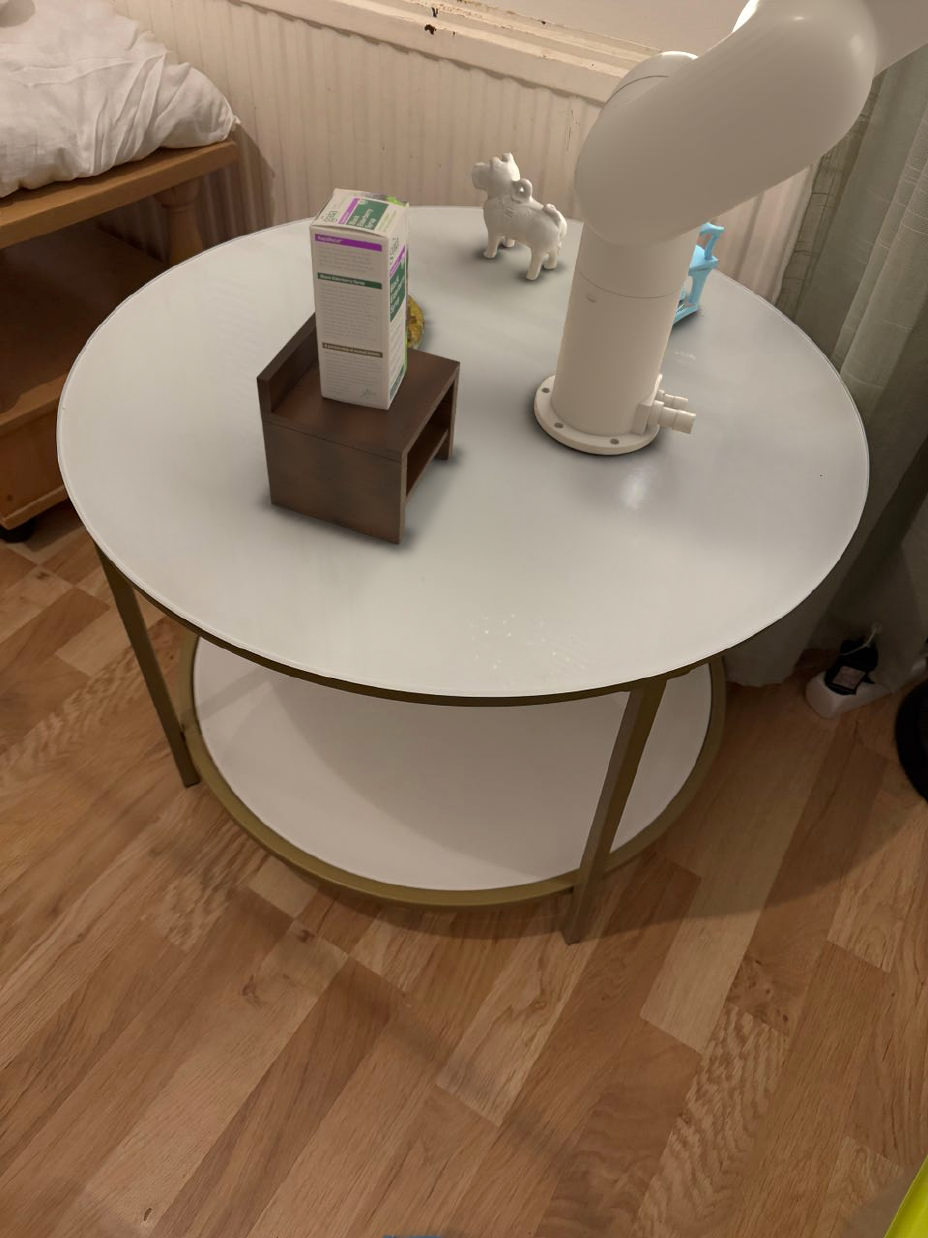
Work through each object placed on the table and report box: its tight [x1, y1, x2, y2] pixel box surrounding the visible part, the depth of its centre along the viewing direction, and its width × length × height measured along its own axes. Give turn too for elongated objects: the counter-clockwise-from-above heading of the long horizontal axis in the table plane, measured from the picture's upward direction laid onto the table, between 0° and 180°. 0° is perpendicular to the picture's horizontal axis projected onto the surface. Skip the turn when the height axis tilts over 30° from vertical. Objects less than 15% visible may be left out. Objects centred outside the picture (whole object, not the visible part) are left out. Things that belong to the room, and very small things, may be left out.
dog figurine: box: [471, 152, 568, 281], centre depth 104 cm, size 5×13×11 cm, turn 50°
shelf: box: [255, 311, 461, 545], centre depth 76 cm, size 12×13×13 cm
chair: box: [673, 221, 725, 325], centre depth 98 cm, size 8×8×12 cm
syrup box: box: [308, 187, 410, 410], centre depth 68 cm, size 6×6×14 cm
